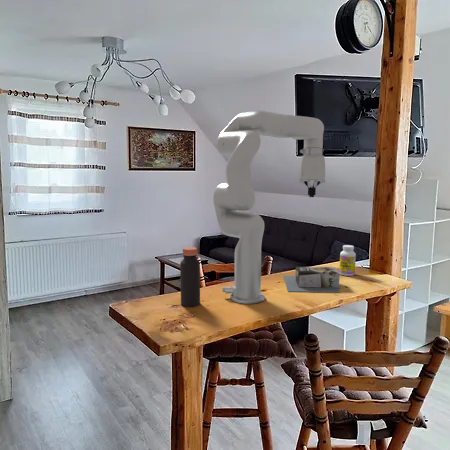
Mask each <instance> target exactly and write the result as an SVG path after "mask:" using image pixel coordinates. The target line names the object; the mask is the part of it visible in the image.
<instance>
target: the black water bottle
mask: <svg viewBox="0 0 450 450" xmlns="http://www.w3.org/2000/svg"><path fill="white" fill-rule="evenodd" d="M197 255H198V248H197V247H194V246H186V247H183V248H182V256H183V259H181V261H180V265H179V266H180V273H179V274H180V304H181V306H183V307H186V308H187V307H188V308H193V307H197V306H199V305H200V304H201V264H200V263H201V262H200V261H199V259H197Z"/></svg>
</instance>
